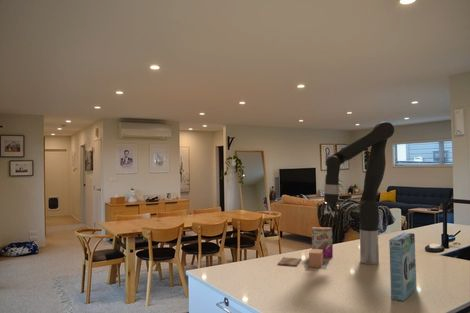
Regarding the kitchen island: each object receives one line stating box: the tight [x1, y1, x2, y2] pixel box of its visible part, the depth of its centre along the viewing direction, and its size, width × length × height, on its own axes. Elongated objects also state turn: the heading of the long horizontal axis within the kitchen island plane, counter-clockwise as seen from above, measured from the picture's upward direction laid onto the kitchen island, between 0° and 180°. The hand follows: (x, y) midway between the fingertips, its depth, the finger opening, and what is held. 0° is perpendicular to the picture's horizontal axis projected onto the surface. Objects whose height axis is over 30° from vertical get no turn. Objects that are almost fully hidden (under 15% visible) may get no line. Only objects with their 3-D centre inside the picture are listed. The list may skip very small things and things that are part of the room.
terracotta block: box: [308, 248, 324, 267], centre depth 189 cm, size 6×9×7 cm, turn 160°
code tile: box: [303, 260, 329, 270], centre depth 189 cm, size 11×14×1 cm
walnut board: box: [277, 256, 302, 268], centre depth 194 cm, size 10×13×1 cm
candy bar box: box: [311, 226, 334, 259], centre depth 206 cm, size 11×5×16 cm, turn 84°
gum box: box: [388, 232, 418, 302], centre depth 147 cm, size 20×5×23 cm, turn 140°
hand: (330, 223), depth 195 cm, fingers open, 8 cm apart
